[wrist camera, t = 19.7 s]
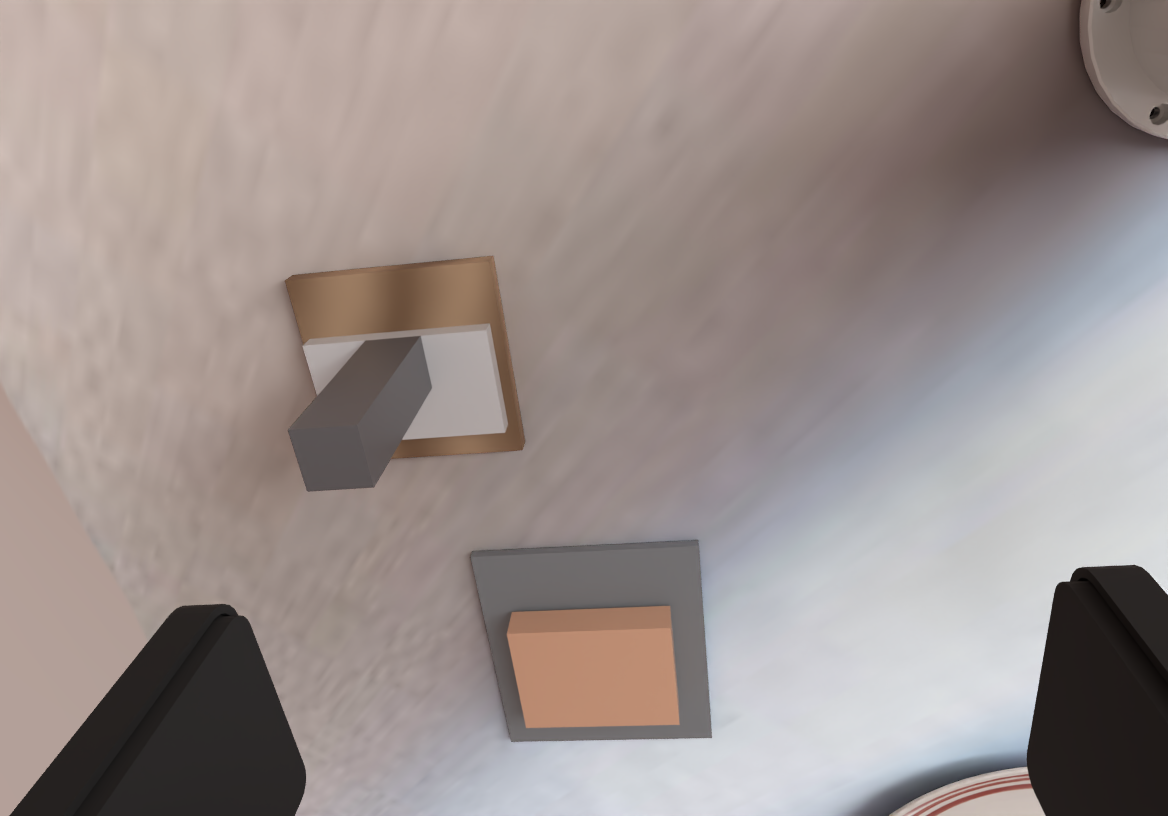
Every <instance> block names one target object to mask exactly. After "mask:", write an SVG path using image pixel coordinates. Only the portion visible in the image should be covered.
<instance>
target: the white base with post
mask: <svg viewBox="0 0 1168 816" xmlns="http://www.w3.org/2000/svg"><path fill="white" fill-rule="evenodd" d="M303 350H304V353H305V357H306V360H307V363H308V367H309V370H310V374H311V377H312V381H313V384H314V387H315V391H316V394H317V397H316V398H315V399H314V400H313V402H312V403H311V404H310V405H309V406H308V407H307V409H306V410H305V411H304V412H303V413H302V414H301V415H300V417H299V418H298V419H297V420H296V421H295V422H294V424H293V425H292V426H291V427H290V428H289V429H288V432H289V435H290V439H291V442H292V445H293V448H294V451H295V454H296V458H297V461H298V464H299V467H300V470H301V473H302V477H303V480H304V483H305V486H306V489H307V491H323V490H339V489H356V488H372V487H374V486H375V485H376V483H377V481H378V480H379V478H380V476H381V475H382V473H383V471H384V469H385V468H386V466H387V464H388V463H389V461H390V459H391V457H392V456H393V454H394V452H395V451H396V449H397V447H398V446H399V444H400V442H401V440H407V439H422V438H436V437H451V436H465V435H480V434H494V433H505V432H506V429H507V426H508V421H507V415H506V410H505V404H504V399H503V393H502V388H501V382H500V377H499V371H498V366H497V360H496V355H495V349H494V344H493V338H492V333H491V327H490V323H488V324H477V325H465V326H454V327H442V328H431V329H419V330H407V331H396V332H384V333H373V334H361V335H350V336H338V337H326V338H315V339H309V340H308V341H307V342H306V343H305V344H304V345H303Z"/></svg>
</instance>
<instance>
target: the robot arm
mask: <svg viewBox="0 0 1168 816" xmlns="http://www.w3.org/2000/svg"><path fill="white" fill-rule="evenodd" d="M1100 1H1101V0H1082V2H1081V7H1080V45H1081V50H1082V54H1083V59H1084V64H1085V69H1086V71H1087V73H1088V75H1089V77H1090V79H1091V82H1092V84H1093V86H1094V88H1095V90H1096V92H1097V93H1098V95H1099V96H1100V97H1101V98H1102V100H1103V101H1104V102H1105V103H1106V105H1107V106H1108V107H1109V108H1110V110H1111V111H1112V112H1113V113H1115V114H1116V115H1117V116H1119V117H1120V118H1121V119H1123V120H1124V121H1125V122H1127V123H1128V124H1129V125H1131V126H1132V127H1135V128H1137V129H1139V130H1142V131H1144V132H1146V133H1149V134H1151V135H1153V136H1156V137H1161V138H1165V139H1168V0H1106V3H1105V5H1104V6H1103V7H1102V8H1100ZM1153 108H1154V109H1155V111H1154V113H1153V115H1152V116H1151V117H1149V115H1150V113H1151V111H1152V109H1153ZM1027 769H1028V774H1029V779H1030V782H1031V785H1032V788H1033V790H1034V793H1035V795H1036V797H1037V799H1038V801H1039V803H1040V805H1041V807H1042V809H1043V812H1044V814H1045V816H1168V595H1167V594H1166V593H1165V591H1164V590H1163V589H1162V588H1161V587H1160V586H1159V585H1158V583H1157V582H1156V581H1155V580H1154V579H1153V578H1152V576H1151V575H1150V574H1149V573H1148V572H1147V571H1145V570H1144V569H1143V568H1142V567H1139V566H1136V565H1124V566H1101V567H1081V568H1078V569H1076V570H1075V571H1074V573H1073V574H1072V577H1071V580H1070V582H1061V583H1059V584H1058V585H1057V586H1056V589H1055V593H1054V598H1053V604H1052V610H1051V616H1050V622H1049V628H1048V633H1047V639H1046V645H1045V651H1044V657H1043V663H1042V669H1041V674H1040V680H1039V686H1038V692H1037V698H1036V704H1035V709H1034V715H1033V721H1032V727H1031V733H1030V739H1029V745H1028V750H1027ZM305 785H306V770H305V766H304V763H303V760H302V758H301V755H300V753H299V750H298V747H297V745H296V742H295V740H294V737H293V734H292V732H291V729H290V727H289V724H288V721H287V719H286V716H285V714H284V711H283V708H282V706H281V703H280V701H279V698H278V695H277V693H276V690H275V688H274V685H273V682H272V680H271V677H270V674H269V672H268V669H267V667H266V664H265V661H264V659H263V656H262V654H261V651H260V648H259V646H258V643H257V641H256V638H255V635H254V633H253V630H252V628H251V625H250V623H249V621H248V619H246V618H245V617H244V616H238V614H237V613H236V611H235V609H234V608H232V607H231V606H230V605H226V604H215V605H192V606H182V607H179V608H177V609H175V610H174V611H173V612H172V613H171V614H170V615H169V617H168V618H167V619H166V620H165V622H164V623H163V624H162V625H161V627H160V628H159V629H158V630H157V632H156V633H155V634H154V635H153V637H152V638H151V639H150V640H149V642H148V643H147V644H146V645H145V647H144V648H143V649H142V651H141V652H140V653H139V654H138V656H137V657H136V658H135V659H134V661H133V662H132V663H131V664H130V665H129V667H128V668H127V669H126V670H125V672H124V673H123V674H122V675H121V677H120V678H119V679H118V681H117V682H116V683H115V684H114V685H113V687H112V688H111V689H110V691H109V692H108V693H107V694H106V695H105V697H104V698H103V699H102V701H101V702H100V703H99V704H98V706H97V707H96V708H95V709H94V711H93V712H92V713H91V714H90V716H89V717H88V718H87V719H86V721H85V722H84V723H83V724H82V726H81V727H80V728H79V729H78V731H77V732H76V733H75V734H74V736H73V737H72V738H71V739H70V741H69V742H68V743H67V745H66V746H65V747H64V748H63V749H62V751H61V752H60V753H59V754H58V756H57V757H56V758H55V759H54V761H53V762H52V763H51V764H50V766H49V767H48V768H47V769H46V771H45V772H44V773H43V774H42V776H41V777H40V778H39V780H38V781H37V782H36V783H35V784H34V786H33V787H32V788H31V789H30V791H29V792H28V793H27V794H26V796H25V797H24V798H23V799H22V801H21V802H20V803H19V804H18V806H17V807H16V808H15V809H14V811H13V812H12V813H11V815H10V816H295V814H296V811H297V809H298V807H299V805H300V802H301V800H302V797H303V794H304V790H305Z"/></svg>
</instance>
